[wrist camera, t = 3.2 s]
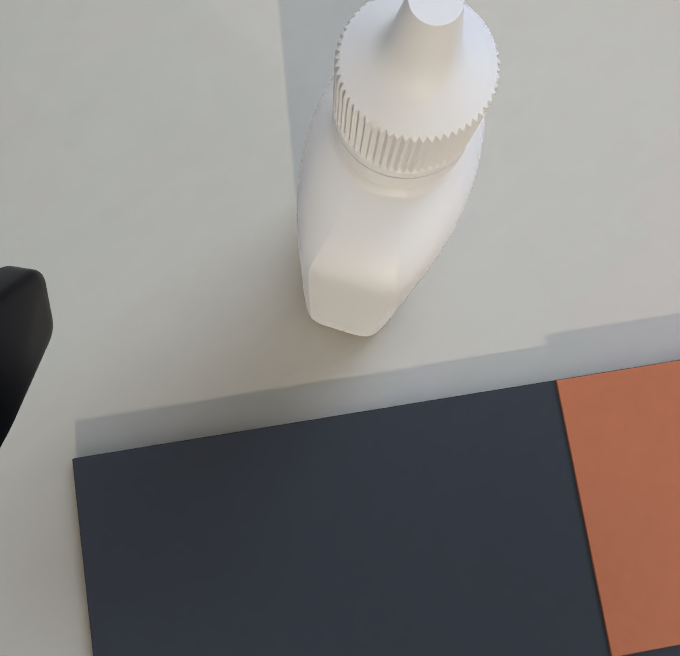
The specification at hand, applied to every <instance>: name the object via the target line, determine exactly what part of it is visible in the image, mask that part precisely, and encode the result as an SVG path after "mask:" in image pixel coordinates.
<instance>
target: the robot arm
mask: <svg viewBox="0 0 680 656" xmlns="http://www.w3.org/2000/svg"><path fill="white" fill-rule="evenodd" d="M52 330H53V320H52V314H51V309H50V304H49V298H48V293H47V288H46V282H45V279H44V277H43V275H42V274H41V273H40V272H39V271H37V270H33V269H27V268H21V267H14V266H5V267H2V268H0V447H1V445H2V443H3V442H4V440H5V438H6V436H7V434H8V432H9V430H10V428H11V426H12V424H13V422H14V420H15V418H16V415H17V413H18V411H19V409H20V406H21V404H22V402H23V400H24V397H25V395H26V393H27V391H28V388H29V386H30V384H31V382H32V379H33V377H34V375H35V373H36V370H37V368H38V366H39V364H40V361H41V359H42V357H43V355H44V352H45V350H46V348H47V346H48V343H49V341H50V338H51V335H52Z"/></svg>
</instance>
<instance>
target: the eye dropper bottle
mask: <svg viewBox="0 0 680 656" xmlns="http://www.w3.org/2000/svg"><path fill="white" fill-rule="evenodd" d="M493 40H494V38H493V36H492V35H491V34H490V30H489V29H488V28H487V27H486V23H485V22H483V21H482V20H481V17H480V16H479V15H477V14H476V12H475V11H474V10H473V9H471V8H470V7H469V6H468V5H467V4H465V3H464V0H372V1H369V2H366V5H365V6H363V7H360V8H359V11H358V12H356V13H354V14H353V18H351V19H349V20H348V24H347V25H346V26H344V32H342V33H341V34H340V40H339V41H338V44H337V49H336V55H335V63H334V76H333V78H332V80H331V81H330V83H329V85H328V86H327V88H326V90H325V92H324V94H323V96H322V98H321V100H320V102H319V104H318V107H317V109H316V111H315V114H314V116H313V119H312V122H311V125H310V128H309V131H308V135H307V138H306V141H305V146H304V151H303V155H302V160H301V166H300V173H299V183H298V199H297V226H298V241H299V253H300V263H301V272H302V280H303V288H304V295H305V302H306V308H307V311H308V313H309V315H310V317H311V318H312V319H313V320H315V321H316V322H318V323H319V324H322V325H325V326H328V327H331V328H334V329H337V330H341V331H344V332H347V333H350V334H354V335H358V336H371V335H373V334H375V333H376V332H378V331H379V330H380V329H381V328H382V327H383V326H384V325H385V324H386V323H387V322H388V320H389V319H390V318H391V317H392V315H393V314H394V313H395V312H396V310H397V309H398V308H399V307H400V305H401V304H402V303H403V301H404V300H405V299H406V298H407V296H408V295H409V294H410V293H411V291H412V290H413V289H414V287H415V286H416V285H417V284H418V282H419V281H420V280H421V278H422V277H423V276H424V274H425V273H426V271H427V270H428V269H429V267H430V266H431V264H432V263H433V262H434V260H435V259H436V258H437V256H438V255H439V253H440V251H441V250H442V248H443V247H444V245H445V244H446V242H447V240H448V238H449V237H450V235H451V233H452V231H453V230H454V228H455V226H456V224H457V222H458V220H459V218H460V216H461V214H462V212H463V210H464V207H465V205H466V202H467V200H468V198H469V195H470V192H471V189H472V186H473V183H474V180H475V177H476V173H477V169H478V165H479V161H480V156H481V150H482V144H483V134H484V115H485V113H486V112H487V110H488V108H489V106H490V105H491V103H492V100H493V98H494V96H495V91H496V89H497V87H498V85H497V82H498V80H499V79H500V78H499V75H498V74H499V72H500V68H499V66H498V65H499V63H500V61H499V59H498V55H499V53H498V52H497V50H496V47H497V45H496V44H495V43H494V41H493Z"/></svg>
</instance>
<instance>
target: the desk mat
mask: <svg viewBox="0 0 680 656" xmlns="http://www.w3.org/2000/svg"><path fill="white" fill-rule="evenodd" d="M72 461H73V470H74V480H75V489H76V498H77V508H78V517H79V526H80V536H81V545H82V555H83V564H84V573H85V583H86V592H87V601H88V611H89V620H90V629H91V639H92V648H93V656H680V360H677V361H671V362H665V363H659V364H653V365H646V366H640V367H634V368H628V369H622V370H616V371H609V372H603V373H597V374H591V375H585V376H579V377H573V378H566V379H560V380H554V381H548V382H542V383H536V384H529V385H523V386H517V387H511V388H505V389H499V390H492V391H486V392H480V393H474V394H468V395H462V396H456V397H449V398H443V399H437V400H431V401H425V402H419V403H412V404H406V405H400V406H394V407H388V408H382V409H375V410H369V411H363V412H357V413H351V414H345V415H339V416H332V417H326V418H320V419H314V420H308V421H302V422H295V423H289V424H283V425H277V426H271V427H265V428H259V429H252V430H246V431H240V432H234V433H228V434H222V435H215V436H209V437H203V438H197V439H191V440H185V441H178V442H172V443H166V444H160V445H154V446H148V447H142V448H135V449H129V450H123V451H117V452H111V453H105V454H98V455H92V456H86V457H80V458H74V459H73V460H72Z"/></svg>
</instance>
